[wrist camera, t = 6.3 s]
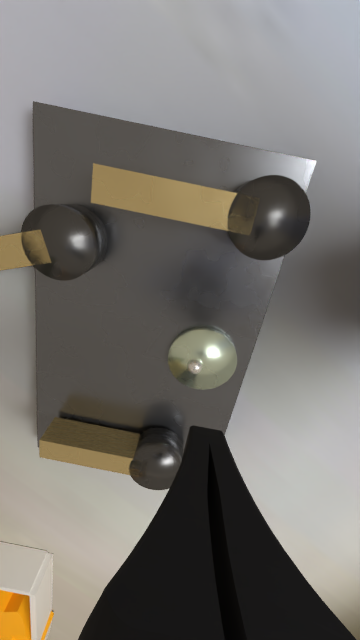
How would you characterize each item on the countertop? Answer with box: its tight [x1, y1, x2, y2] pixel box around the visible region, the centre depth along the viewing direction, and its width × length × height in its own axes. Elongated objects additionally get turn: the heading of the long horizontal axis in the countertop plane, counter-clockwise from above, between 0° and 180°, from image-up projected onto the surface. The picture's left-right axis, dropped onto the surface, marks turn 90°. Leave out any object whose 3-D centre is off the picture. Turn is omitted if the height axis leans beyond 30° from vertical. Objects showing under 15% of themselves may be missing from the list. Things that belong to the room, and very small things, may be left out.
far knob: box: [39, 417, 183, 490], centre depth 20 cm, size 10×4×2 cm, turn 79°
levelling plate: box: [33, 101, 316, 452], centre depth 18 cm, size 14×23×2 cm, turn 169°
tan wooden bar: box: [91, 163, 310, 260], centre depth 14 cm, size 10×4×2 cm, turn 79°
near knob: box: [0, 204, 108, 281], centre depth 15 cm, size 10×4×2 cm, turn 99°
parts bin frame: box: [0, 542, 53, 640], centre depth 32 cm, size 9×17×4 cm, turn 169°
